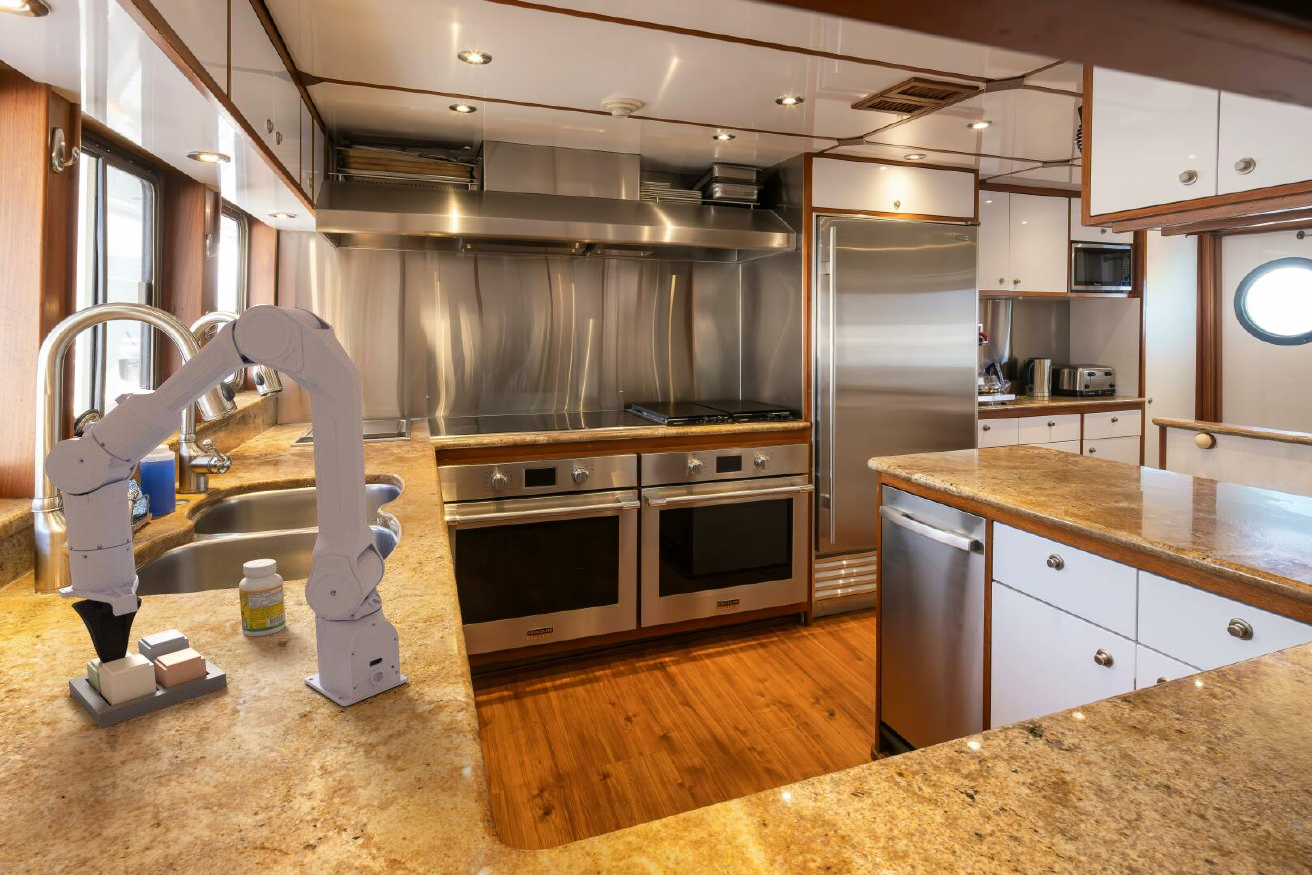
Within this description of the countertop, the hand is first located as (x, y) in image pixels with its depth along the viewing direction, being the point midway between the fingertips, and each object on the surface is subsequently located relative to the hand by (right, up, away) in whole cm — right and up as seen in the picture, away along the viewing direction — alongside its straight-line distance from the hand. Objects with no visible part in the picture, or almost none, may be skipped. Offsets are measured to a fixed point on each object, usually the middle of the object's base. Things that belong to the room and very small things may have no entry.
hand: (112, 659), depth 82 cm
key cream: (+4, -3, -3) cm, 6 cm away
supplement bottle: (+7, -2, +18) cm, 20 cm away
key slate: (+3, -2, +4) cm, 6 cm away
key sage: (0, -3, 0) cm, 3 cm away
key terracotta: (+7, -3, +1) cm, 8 cm away
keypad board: (+4, -4, +1) cm, 5 cm away
